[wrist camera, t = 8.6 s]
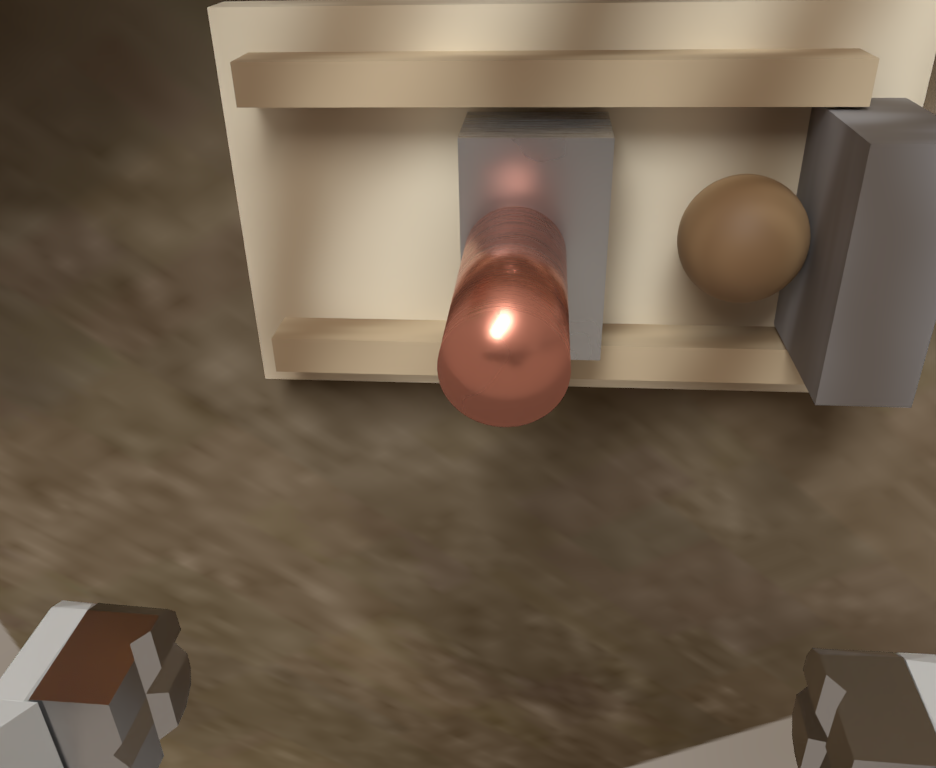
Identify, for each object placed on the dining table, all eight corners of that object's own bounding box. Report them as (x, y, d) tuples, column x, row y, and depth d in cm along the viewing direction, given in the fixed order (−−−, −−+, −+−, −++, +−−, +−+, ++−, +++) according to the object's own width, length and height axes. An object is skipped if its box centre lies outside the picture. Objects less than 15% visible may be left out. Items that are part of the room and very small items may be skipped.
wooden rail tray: (926, -8, 24) (1042, 25, 18) (841, 371, 30) (908, 483, 24) (224, 1, 25) (131, 33, 20) (277, 358, 31) (217, 460, 26)
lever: (608, 111, 24) (636, 225, 16) (595, 316, 28) (614, 497, 19) (467, 111, 25) (425, 222, 16) (471, 313, 28) (437, 491, 20)
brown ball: (802, 158, 25) (838, 197, 22) (782, 274, 27) (812, 325, 24) (676, 158, 25) (693, 196, 22) (664, 272, 27) (679, 323, 24)
